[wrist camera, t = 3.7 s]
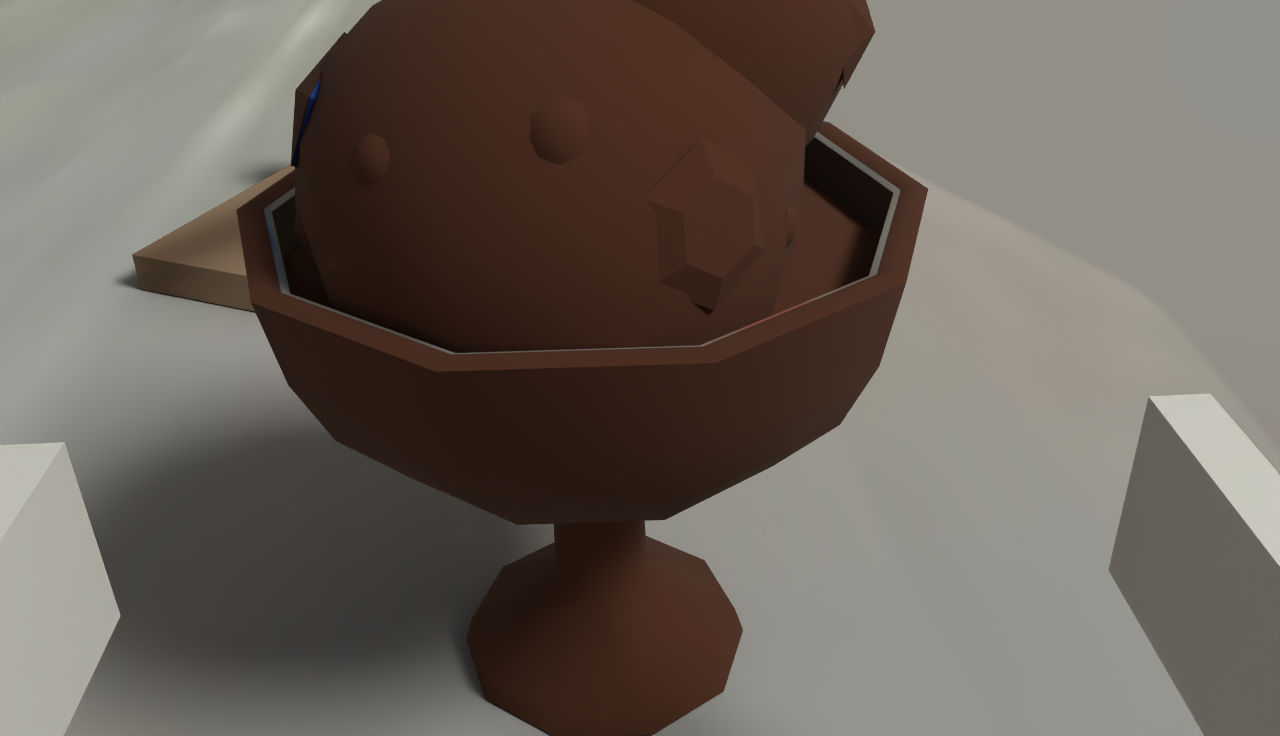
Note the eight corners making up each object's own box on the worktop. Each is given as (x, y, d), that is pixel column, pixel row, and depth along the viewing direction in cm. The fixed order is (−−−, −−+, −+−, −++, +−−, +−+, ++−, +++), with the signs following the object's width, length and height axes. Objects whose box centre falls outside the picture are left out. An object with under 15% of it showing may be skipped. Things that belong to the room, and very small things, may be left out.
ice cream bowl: (550, 428, 31) (503, -225, 23) (969, 588, 25) (1091, -201, 17) (210, 685, 23) (-27, -154, 16) (699, 992, 18) (704, -75, 10)
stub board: (140, 289, 38) (112, 179, 36) (433, 111, 52) (423, 26, 50) (671, 393, 32) (670, 268, 30) (839, 160, 46) (845, 65, 44)
